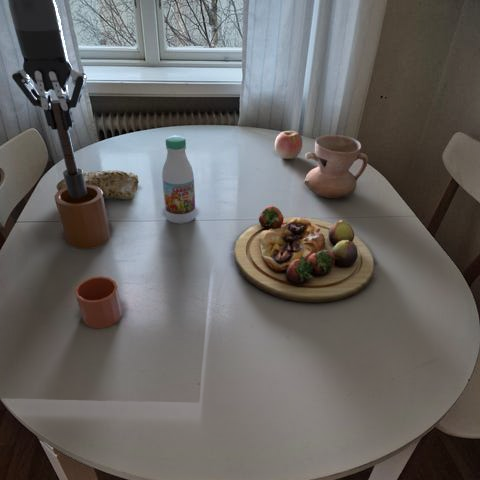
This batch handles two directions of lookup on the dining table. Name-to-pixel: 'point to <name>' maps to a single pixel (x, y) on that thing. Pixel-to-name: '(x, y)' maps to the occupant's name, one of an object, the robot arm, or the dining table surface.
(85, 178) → the seeded bread loaf
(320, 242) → the wooden plate
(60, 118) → the brush
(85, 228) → the jar
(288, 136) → the apple
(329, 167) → the ceramic jug
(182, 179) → the milk bottle
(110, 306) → the cup
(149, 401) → the dining table surface
